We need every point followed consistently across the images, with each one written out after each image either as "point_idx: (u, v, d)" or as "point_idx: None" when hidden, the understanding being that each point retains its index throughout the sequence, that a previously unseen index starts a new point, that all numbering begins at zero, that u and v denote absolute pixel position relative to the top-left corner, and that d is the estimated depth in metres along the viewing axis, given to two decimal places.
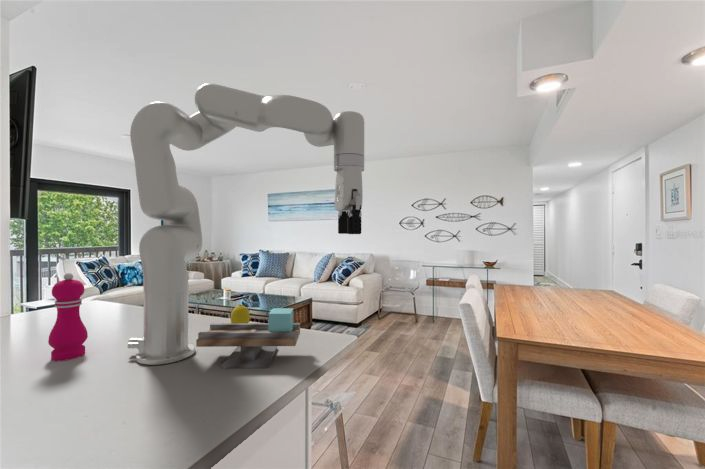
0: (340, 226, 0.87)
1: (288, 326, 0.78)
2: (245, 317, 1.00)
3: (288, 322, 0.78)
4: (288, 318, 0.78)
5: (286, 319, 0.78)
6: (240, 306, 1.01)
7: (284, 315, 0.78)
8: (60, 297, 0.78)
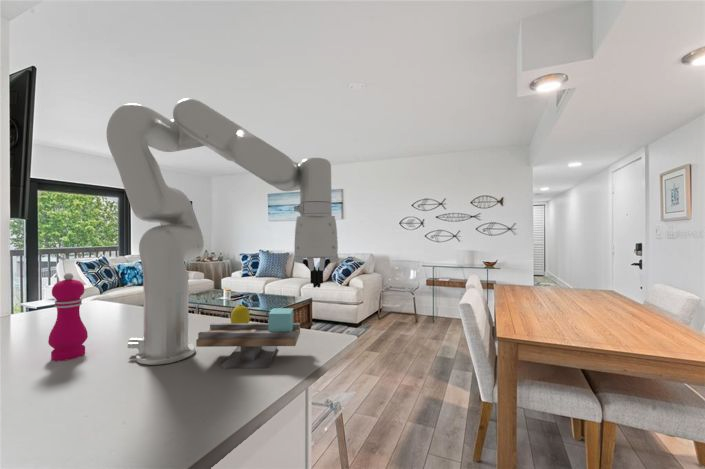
0: (316, 279, 0.80)
1: (288, 326, 0.78)
2: (245, 317, 1.00)
3: (288, 322, 0.78)
4: (288, 318, 0.78)
5: (286, 319, 0.78)
6: (240, 306, 1.01)
7: (284, 315, 0.78)
8: (60, 297, 0.78)
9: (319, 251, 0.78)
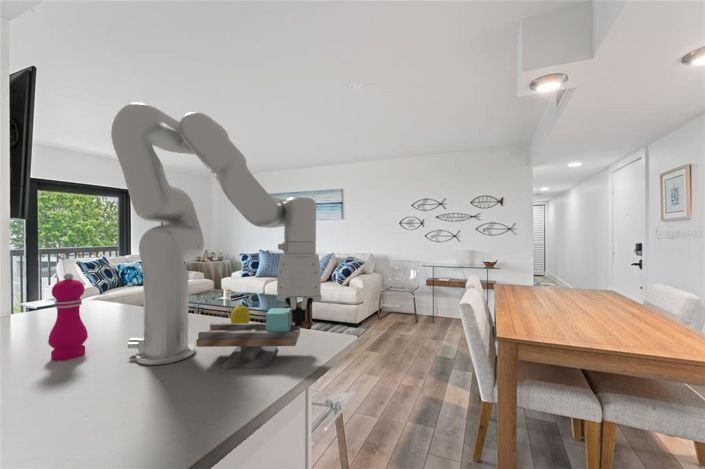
0: (298, 318, 0.80)
1: (286, 326, 0.78)
2: (245, 317, 1.00)
3: (286, 322, 0.78)
4: (286, 318, 0.78)
5: (284, 319, 0.78)
6: (240, 306, 1.01)
7: (281, 315, 0.78)
8: (60, 297, 0.78)
9: (301, 291, 0.78)
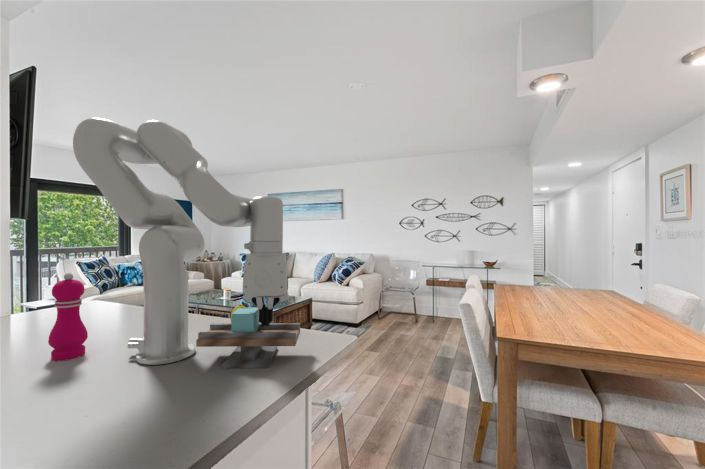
0: (264, 318, 0.79)
1: (251, 326, 0.78)
2: None
3: (251, 322, 0.78)
4: (251, 318, 0.78)
5: (249, 319, 0.78)
6: (240, 306, 1.01)
7: (247, 315, 0.78)
8: (60, 297, 0.78)
9: (267, 290, 0.78)
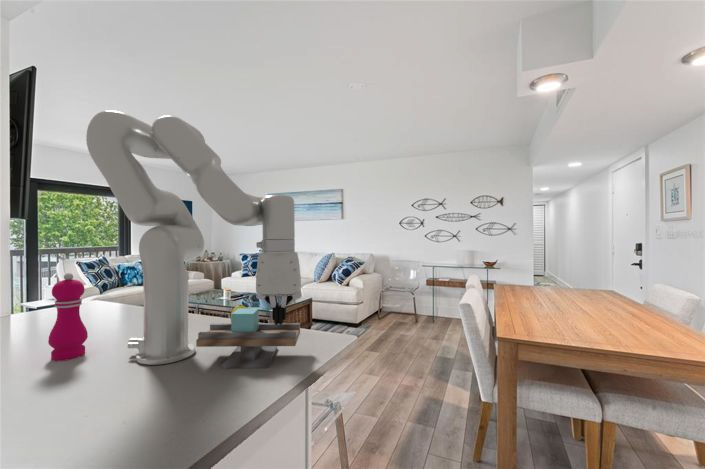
0: (278, 316, 0.80)
1: (251, 326, 0.78)
2: None
3: (251, 322, 0.78)
4: (251, 318, 0.78)
5: (249, 319, 0.78)
6: (240, 306, 1.01)
7: (247, 315, 0.78)
8: (60, 297, 0.78)
9: (280, 289, 0.78)
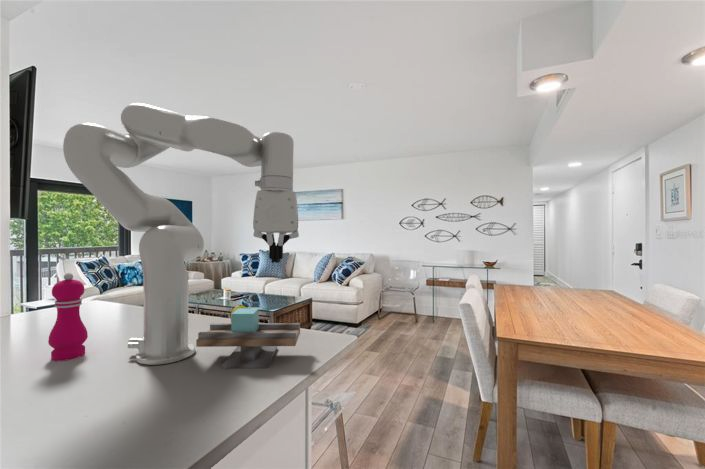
0: None
1: (251, 326, 0.78)
2: None
3: (251, 322, 0.78)
4: (251, 318, 0.78)
5: (249, 319, 0.78)
6: (240, 306, 1.01)
7: (247, 315, 0.78)
8: (60, 297, 0.78)
9: (277, 226, 0.78)
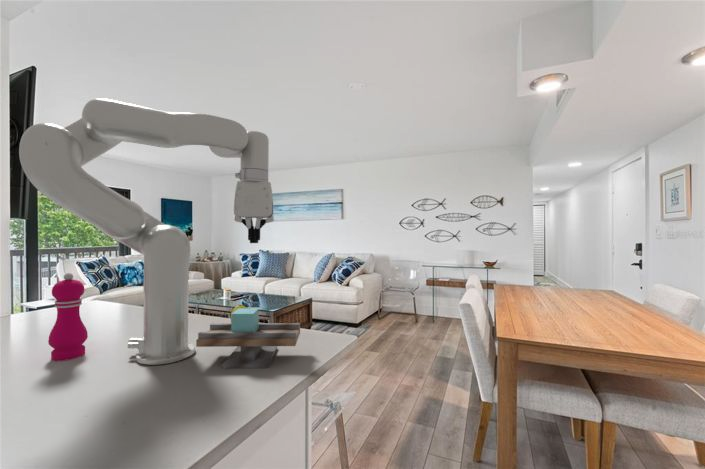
0: (252, 236, 0.93)
1: (251, 326, 0.78)
2: None
3: (251, 322, 0.78)
4: (251, 318, 0.78)
5: (249, 319, 0.78)
6: (240, 306, 1.01)
7: (247, 315, 0.78)
8: (60, 297, 0.78)
9: (254, 211, 0.91)
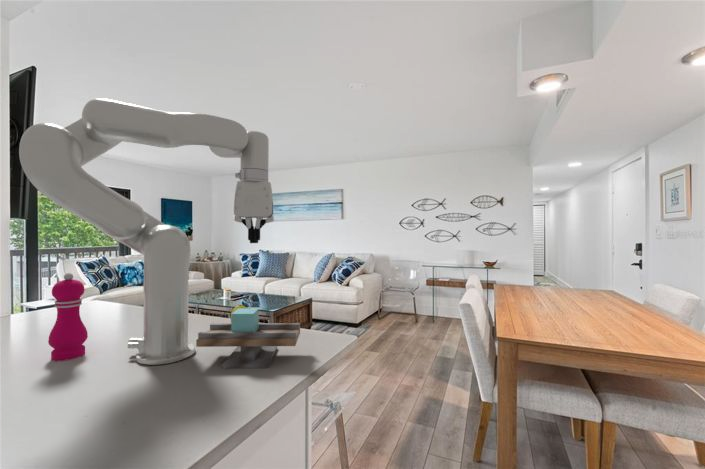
0: (252, 236, 0.93)
1: (251, 326, 0.78)
2: None
3: (251, 322, 0.78)
4: (251, 318, 0.78)
5: (249, 319, 0.78)
6: (240, 306, 1.01)
7: (247, 315, 0.78)
8: (60, 297, 0.78)
9: (254, 211, 0.91)
